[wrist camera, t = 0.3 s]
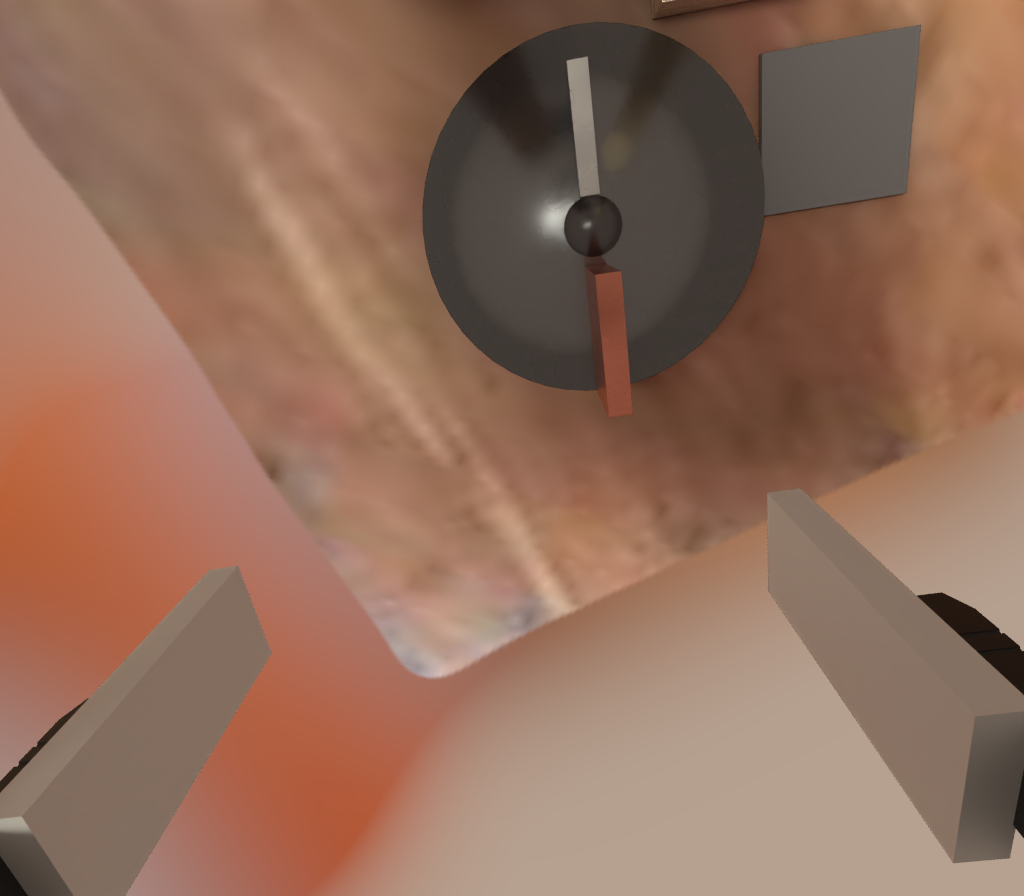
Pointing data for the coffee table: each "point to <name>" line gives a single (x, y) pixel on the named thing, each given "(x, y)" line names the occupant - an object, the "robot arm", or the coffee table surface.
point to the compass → (593, 208)
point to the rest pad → (837, 119)
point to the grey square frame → (685, 6)
